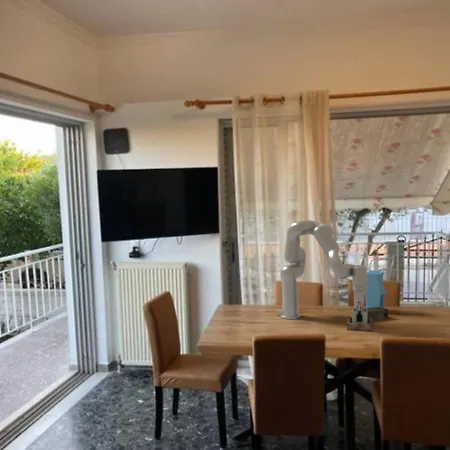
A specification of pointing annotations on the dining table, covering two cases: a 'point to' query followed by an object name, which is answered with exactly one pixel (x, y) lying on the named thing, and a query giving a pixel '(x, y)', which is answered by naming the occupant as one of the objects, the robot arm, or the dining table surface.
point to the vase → (374, 289)
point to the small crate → (364, 313)
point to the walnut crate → (359, 325)
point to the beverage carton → (377, 313)
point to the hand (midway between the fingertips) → (359, 319)
